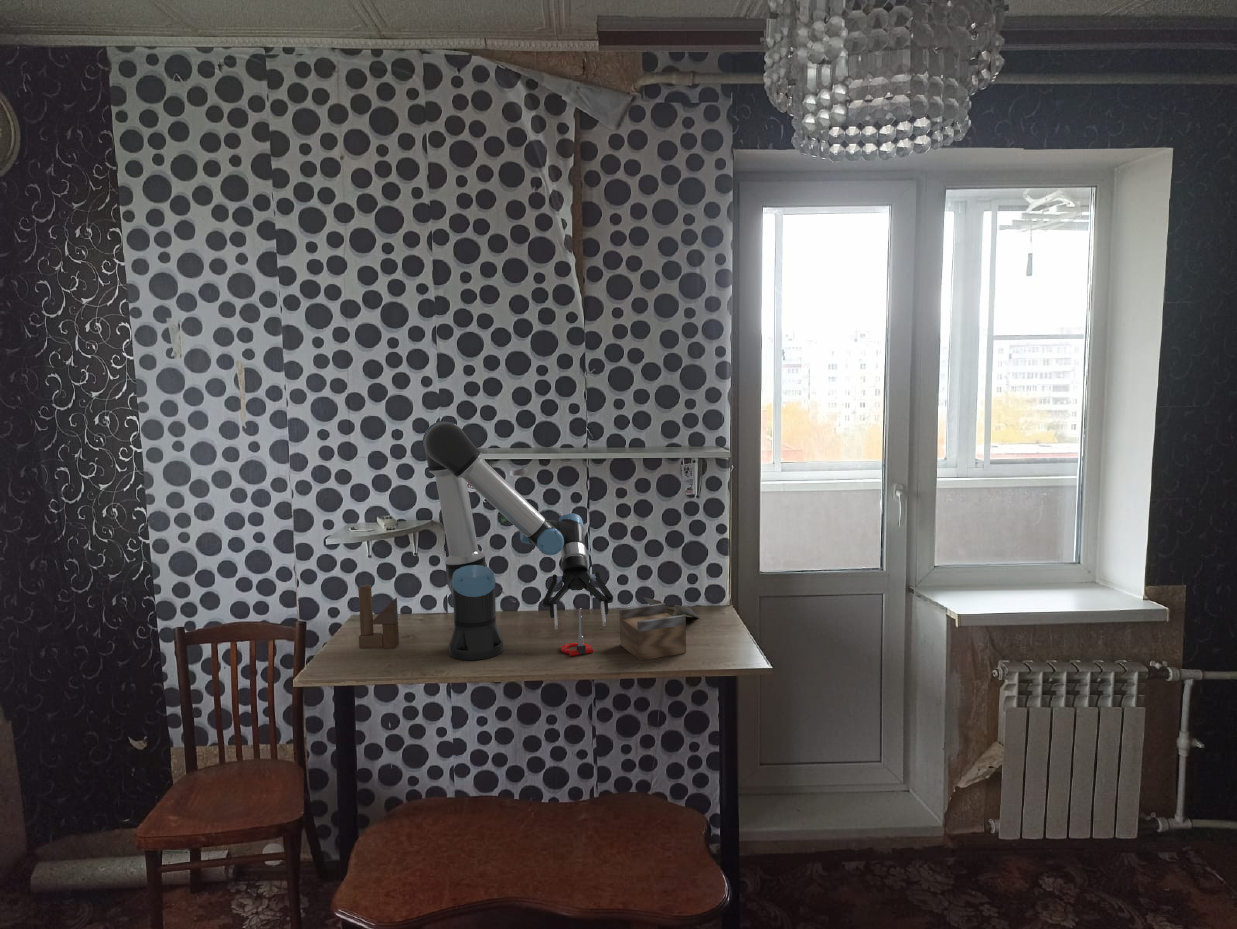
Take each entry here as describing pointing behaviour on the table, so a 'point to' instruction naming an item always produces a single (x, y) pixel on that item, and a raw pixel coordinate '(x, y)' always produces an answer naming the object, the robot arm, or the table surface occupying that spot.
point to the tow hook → (581, 646)
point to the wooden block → (377, 622)
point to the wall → (673, 609)
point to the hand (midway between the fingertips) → (580, 625)
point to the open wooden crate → (652, 632)
